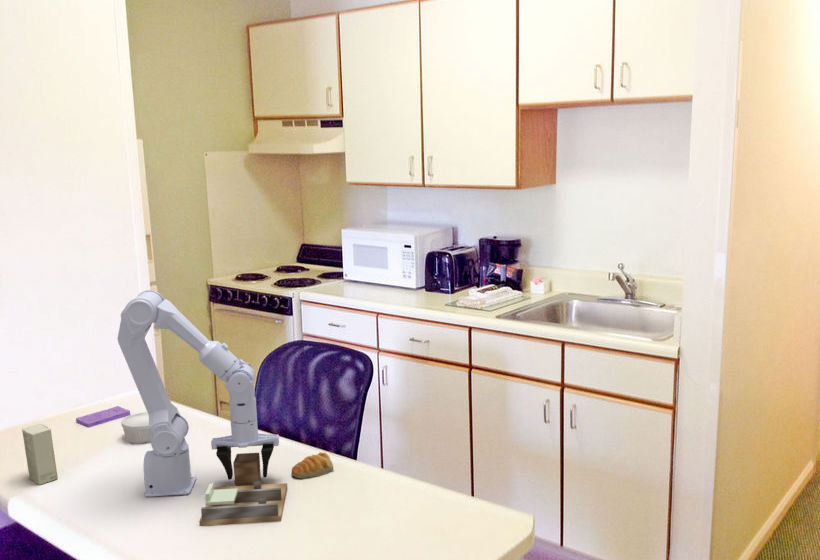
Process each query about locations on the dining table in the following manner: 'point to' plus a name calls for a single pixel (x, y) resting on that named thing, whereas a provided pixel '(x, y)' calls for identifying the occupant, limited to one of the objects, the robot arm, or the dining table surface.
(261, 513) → the board
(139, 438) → the ramekin
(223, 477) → the dining table surface
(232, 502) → the cover
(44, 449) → the skincare box
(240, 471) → the brown block
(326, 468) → the pastry
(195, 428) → the dining table surface
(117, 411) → the purple flat block
